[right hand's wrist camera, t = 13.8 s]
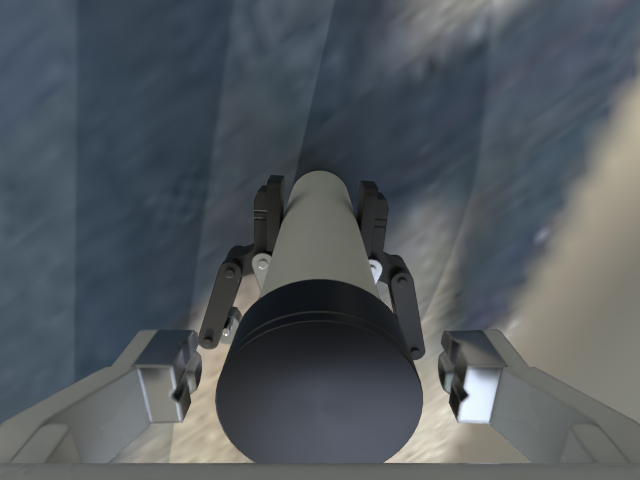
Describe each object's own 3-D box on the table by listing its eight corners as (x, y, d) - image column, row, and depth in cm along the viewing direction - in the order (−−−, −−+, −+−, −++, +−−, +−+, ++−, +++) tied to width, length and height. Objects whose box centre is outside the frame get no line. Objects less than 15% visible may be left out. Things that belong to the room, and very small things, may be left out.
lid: (325, 441, 12) (326, 506, 10) (199, 359, 10) (173, 415, 9) (440, 348, 10) (466, 402, 8) (311, 241, 9) (309, 278, 7)
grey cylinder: (288, 223, 27) (232, 443, 10) (293, 167, 25) (237, 309, 8) (344, 230, 27) (386, 455, 10) (352, 174, 25) (419, 328, 8)
